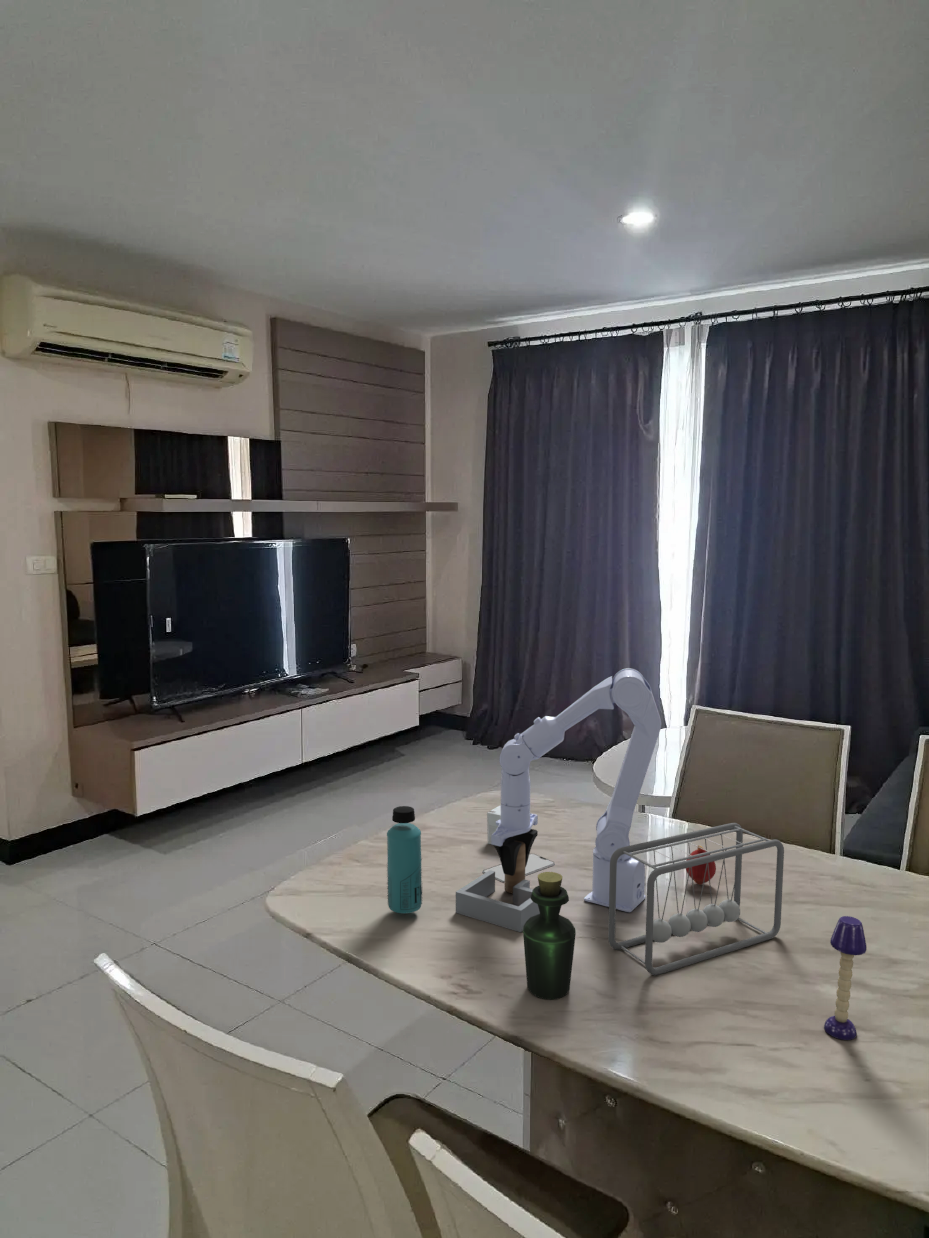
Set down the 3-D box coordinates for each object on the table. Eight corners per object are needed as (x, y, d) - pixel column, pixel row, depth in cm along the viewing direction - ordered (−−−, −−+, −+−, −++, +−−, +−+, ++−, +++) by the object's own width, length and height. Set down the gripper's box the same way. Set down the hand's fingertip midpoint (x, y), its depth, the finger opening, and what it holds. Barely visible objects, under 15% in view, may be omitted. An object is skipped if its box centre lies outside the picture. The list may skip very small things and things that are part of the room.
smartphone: (480, 870, 176) (532, 852, 186) (480, 873, 177) (532, 855, 186) (504, 882, 171) (557, 862, 180) (504, 885, 171) (557, 865, 181)
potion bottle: (541, 969, 138) (542, 861, 136) (584, 986, 133) (587, 875, 131) (511, 990, 132) (512, 878, 130) (555, 1009, 126) (557, 892, 124)
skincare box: (523, 840, 194) (523, 809, 193) (510, 849, 189) (510, 816, 188) (499, 835, 197) (500, 804, 196) (486, 843, 192) (486, 811, 191)
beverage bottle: (417, 923, 154) (417, 815, 151) (382, 919, 155) (381, 812, 153) (426, 907, 160) (426, 803, 158) (392, 904, 161) (391, 801, 159)
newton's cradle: (647, 979, 135) (650, 871, 133) (606, 950, 144) (608, 849, 142) (781, 936, 149) (786, 838, 147) (736, 912, 158) (740, 819, 156)
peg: (528, 887, 168) (529, 843, 167) (518, 895, 164) (518, 849, 163) (511, 883, 170) (511, 839, 169) (500, 890, 166) (500, 845, 165)
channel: (552, 907, 160) (552, 886, 160) (520, 932, 150) (521, 910, 150) (489, 889, 168) (489, 870, 167) (455, 912, 158) (455, 891, 157)
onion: (712, 879, 173) (713, 840, 172) (717, 891, 167) (719, 851, 167) (682, 877, 174) (684, 839, 173) (687, 889, 168) (688, 850, 167)
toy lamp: (851, 1022, 123) (857, 911, 122) (867, 1041, 119) (874, 927, 117) (818, 1023, 123) (824, 912, 121) (833, 1042, 119) (839, 927, 117)
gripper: (516, 789, 173) (515, 853, 175) (477, 808, 161) (477, 878, 163) (547, 795, 169) (546, 861, 171) (510, 815, 157) (509, 886, 159)
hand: (514, 870), depth 167 cm, fingers closed on peg, 4 cm apart
